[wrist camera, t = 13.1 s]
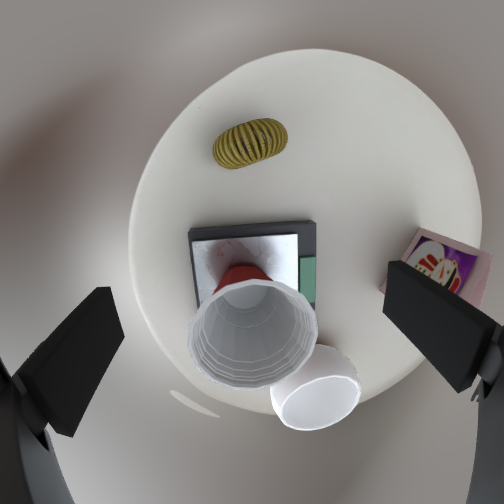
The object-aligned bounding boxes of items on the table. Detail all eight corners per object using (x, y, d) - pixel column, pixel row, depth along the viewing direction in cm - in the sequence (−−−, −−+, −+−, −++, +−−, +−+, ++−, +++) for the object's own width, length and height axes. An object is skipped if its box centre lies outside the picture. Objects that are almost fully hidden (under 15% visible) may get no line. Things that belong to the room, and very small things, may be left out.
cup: (329, 389, 42) (346, 428, 33) (259, 390, 40) (266, 434, 31) (351, 330, 39) (378, 368, 29) (273, 328, 37) (285, 371, 28)
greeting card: (417, 224, 35) (490, 251, 21) (440, 250, 37) (506, 282, 22) (375, 287, 37) (435, 339, 23) (402, 308, 39) (458, 358, 24)
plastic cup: (303, 305, 34) (334, 364, 22) (224, 338, 34) (224, 405, 22) (271, 227, 31) (296, 257, 19) (184, 265, 31) (161, 314, 20)
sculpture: (222, 175, 31) (219, 174, 24) (210, 144, 30) (203, 134, 23) (285, 152, 31) (301, 145, 24) (273, 122, 30) (286, 106, 22)
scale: (190, 228, 33) (186, 233, 30) (311, 220, 34) (318, 224, 31) (203, 328, 37) (201, 340, 34) (310, 319, 37) (315, 329, 35)
